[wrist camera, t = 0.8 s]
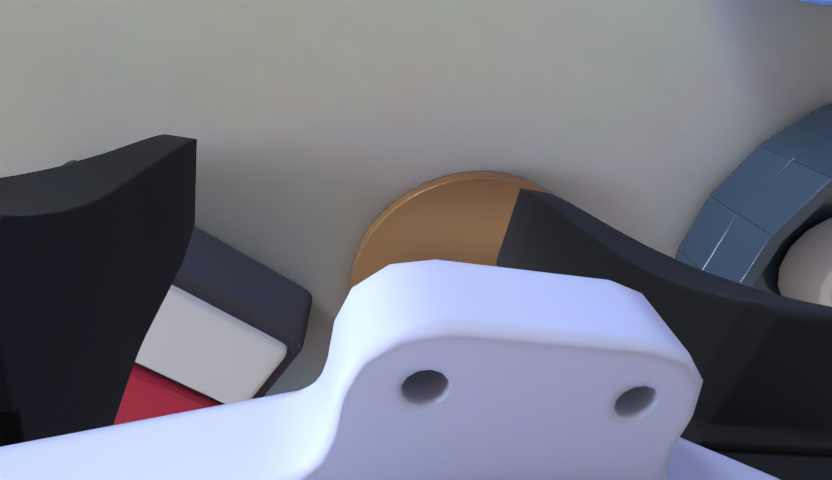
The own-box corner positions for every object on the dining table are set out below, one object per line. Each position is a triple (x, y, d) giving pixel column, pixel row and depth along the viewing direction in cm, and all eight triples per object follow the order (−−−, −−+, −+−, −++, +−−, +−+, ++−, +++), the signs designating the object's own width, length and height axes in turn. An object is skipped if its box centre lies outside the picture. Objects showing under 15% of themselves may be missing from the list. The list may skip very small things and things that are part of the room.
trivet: (606, 345, 28) (613, 355, 27) (393, 407, 28) (394, 419, 27) (568, 136, 23) (574, 141, 22) (312, 216, 23) (311, 224, 23)
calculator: (-127, 475, 23) (3, 199, 18) (-54, 399, 26) (70, 153, 21) (132, 565, 26) (305, 357, 21) (164, 487, 30) (317, 294, 25)
